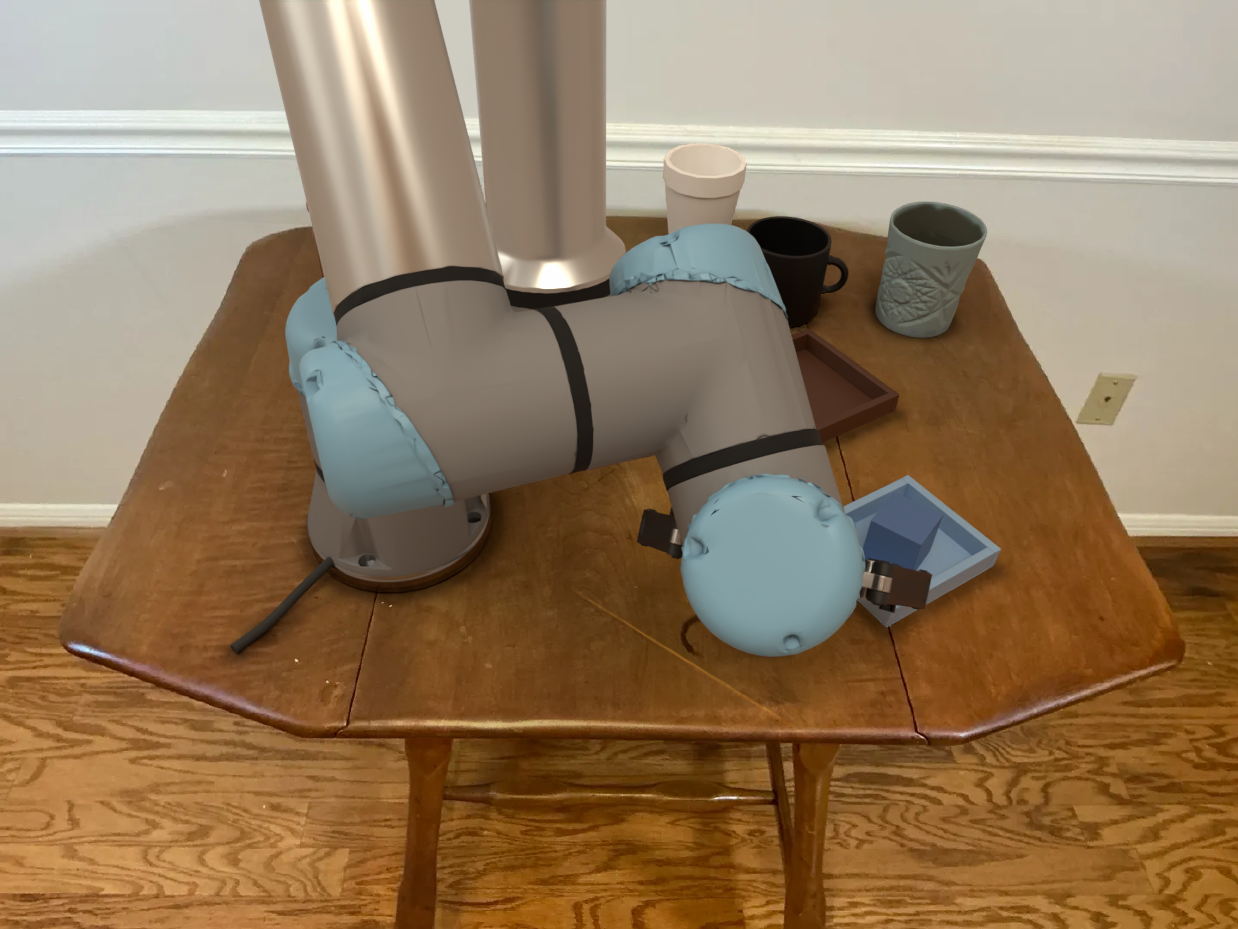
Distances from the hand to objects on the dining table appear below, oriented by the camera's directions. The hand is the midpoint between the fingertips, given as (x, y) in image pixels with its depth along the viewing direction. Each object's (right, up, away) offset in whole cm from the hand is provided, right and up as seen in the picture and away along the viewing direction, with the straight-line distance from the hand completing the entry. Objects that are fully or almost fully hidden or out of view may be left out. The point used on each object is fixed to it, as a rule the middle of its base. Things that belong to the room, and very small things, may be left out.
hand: (781, 555), depth 74 cm
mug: (+7, +25, +36) cm, 45 cm away
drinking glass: (+21, +24, +35) cm, 47 cm away
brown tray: (+4, +13, +22) cm, 26 cm away
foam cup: (-3, +32, +44) cm, 54 cm away
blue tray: (+11, -1, +7) cm, 13 cm away
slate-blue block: (+11, 0, +7) cm, 13 cm away
